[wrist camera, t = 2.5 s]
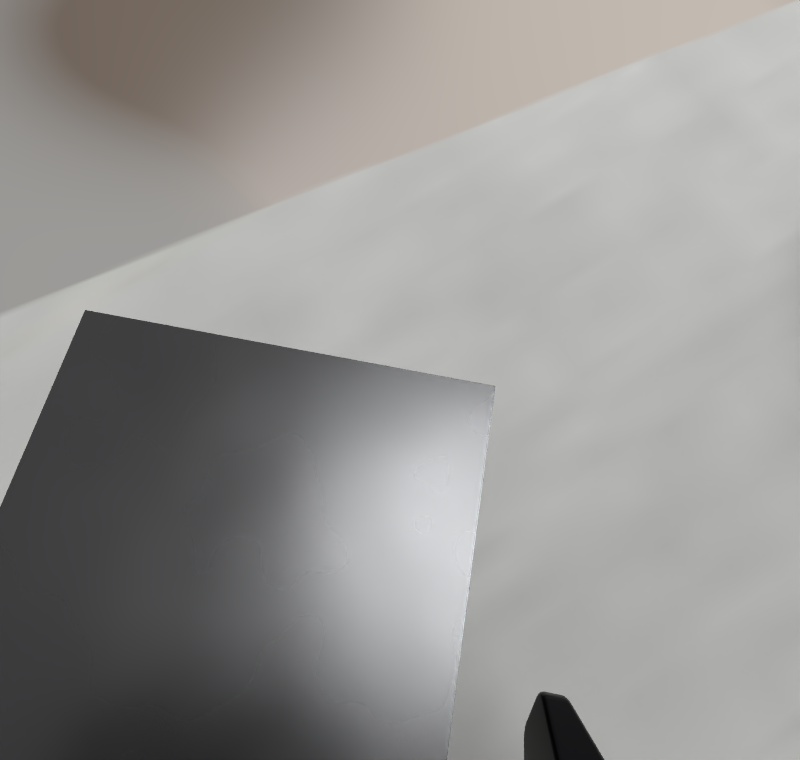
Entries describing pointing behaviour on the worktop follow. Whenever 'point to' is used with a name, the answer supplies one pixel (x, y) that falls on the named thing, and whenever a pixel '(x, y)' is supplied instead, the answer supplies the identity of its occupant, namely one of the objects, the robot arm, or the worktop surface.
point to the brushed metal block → (237, 553)
